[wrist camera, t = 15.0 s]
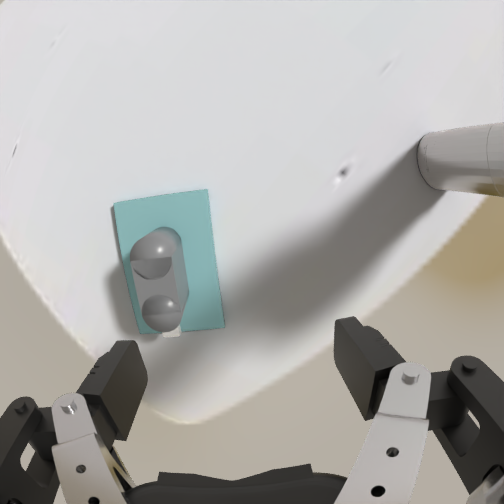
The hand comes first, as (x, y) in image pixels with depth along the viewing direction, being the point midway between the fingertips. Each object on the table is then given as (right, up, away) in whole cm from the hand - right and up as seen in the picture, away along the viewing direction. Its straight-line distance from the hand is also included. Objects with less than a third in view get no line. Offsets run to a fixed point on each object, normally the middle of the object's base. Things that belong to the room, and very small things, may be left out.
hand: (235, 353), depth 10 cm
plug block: (-10, +2, +23) cm, 25 cm away
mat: (-10, +2, +24) cm, 26 cm away
